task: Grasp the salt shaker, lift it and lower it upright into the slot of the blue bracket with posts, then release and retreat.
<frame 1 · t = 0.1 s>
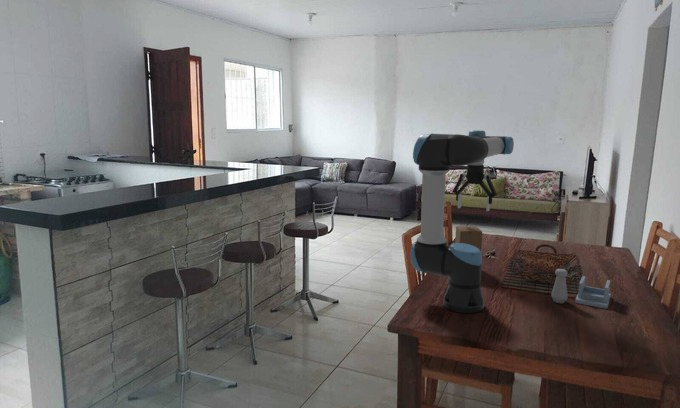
hand: (473, 209, 228), 28 cm above the table, fingers open, 13 cm apart
salt shaker: (558, 302, 189), on the table
wooden block: (466, 270, 228), on the table
blue bracket with posts: (593, 300, 191), on the table
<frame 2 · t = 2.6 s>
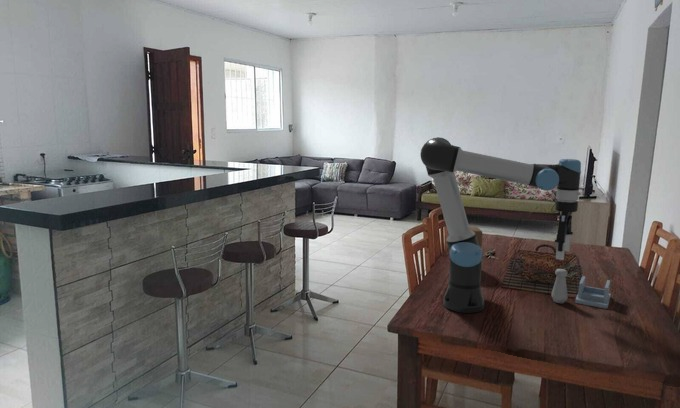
hand: (562, 255, 186), 19 cm above the table, fingers open, 13 cm apart
nothing on the table moved.
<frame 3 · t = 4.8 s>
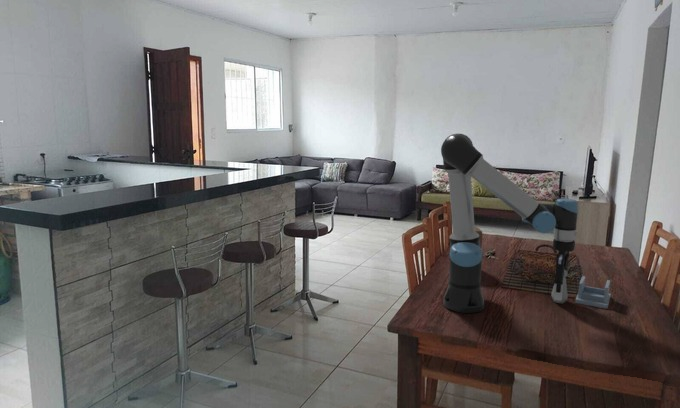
hand: (559, 297, 189), 2 cm above the table, fingers closed on salt shaker, 6 cm apart
salt shaker: (558, 302, 189), on the table, touching gripper
everything else where it was.
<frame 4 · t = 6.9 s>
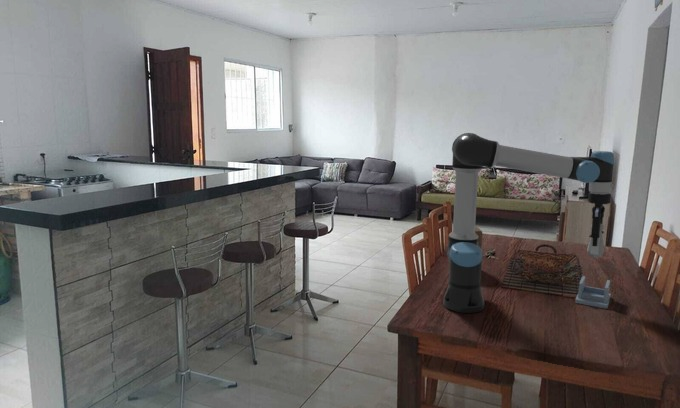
hand: (595, 251, 187), 20 cm above the table, fingers closed on salt shaker, 6 cm apart
salt shaker: (594, 256, 187), point 18 cm above the table, touching gripper
everything else where it was.
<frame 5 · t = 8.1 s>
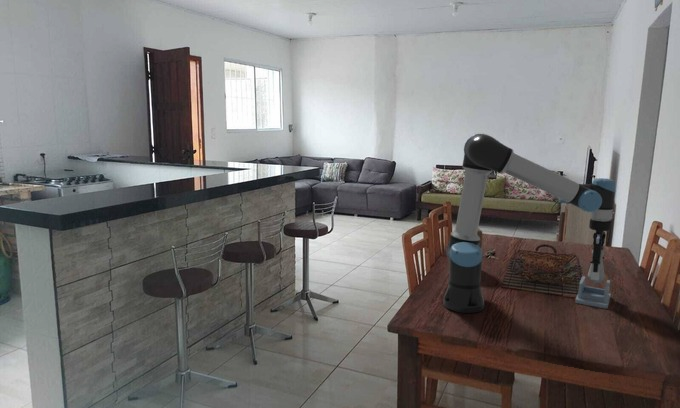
hand: (595, 277, 189), 9 cm above the table, fingers closed on salt shaker, 6 cm apart
salt shaker: (595, 282, 189), point 7 cm above the table, touching gripper
everything else where it was.
when the fingers open (5 cm above the table, at t = 9.1 s): salt shaker drops 2 cm, resting on blue bracket with posts.
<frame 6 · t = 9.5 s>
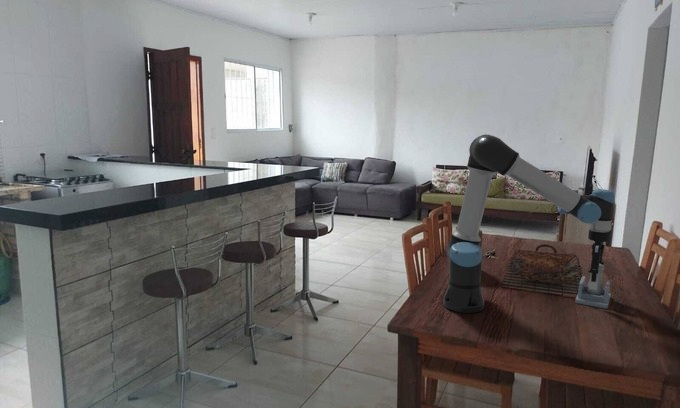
hand: (594, 284, 190), 6 cm above the table, fingers open, 11 cm apart
salt shaker: (593, 296, 190), point 1 cm above the table, touching blue bracket with posts
everything else where it was.
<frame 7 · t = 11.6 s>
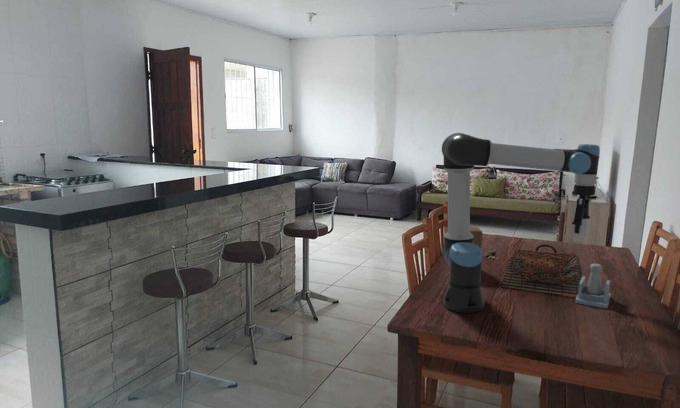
hand: (579, 237, 192), 24 cm above the table, fingers open, 13 cm apart
nothing on the table moved.
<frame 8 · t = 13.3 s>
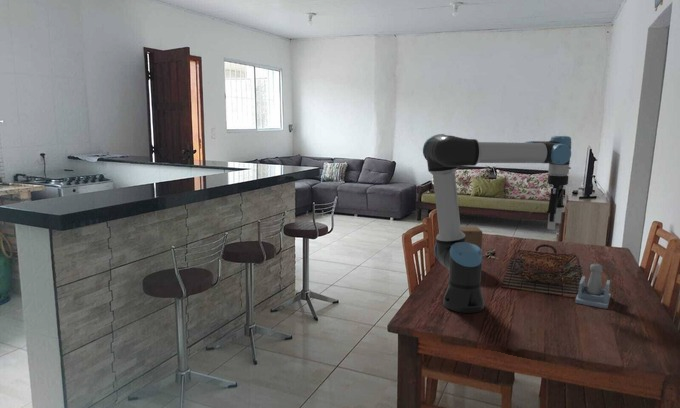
hand: (554, 226, 199), 27 cm above the table, fingers open, 13 cm apart
nothing on the table moved.
at the end: salt shaker 0.0 cm off-centre on the blue bracket with posts, point 1.3 cm above the blue bracket with posts's base; salt shaker tilted 0°; the gripper is holding nothing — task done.
